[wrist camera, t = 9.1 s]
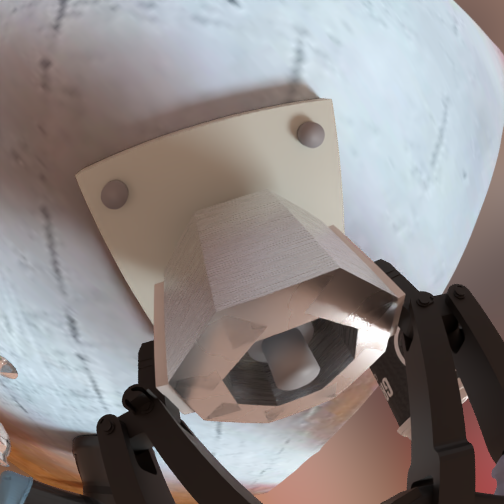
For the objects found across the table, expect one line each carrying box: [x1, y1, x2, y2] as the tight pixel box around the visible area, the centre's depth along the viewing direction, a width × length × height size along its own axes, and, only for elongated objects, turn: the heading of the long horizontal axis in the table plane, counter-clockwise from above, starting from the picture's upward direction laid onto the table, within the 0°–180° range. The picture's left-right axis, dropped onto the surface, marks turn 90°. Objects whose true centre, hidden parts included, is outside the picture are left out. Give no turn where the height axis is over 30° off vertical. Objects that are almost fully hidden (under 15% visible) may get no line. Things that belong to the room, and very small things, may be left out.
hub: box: [164, 189, 398, 423], centre depth 13 cm, size 9×9×7 cm
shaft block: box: [75, 98, 345, 390], centre depth 15 cm, size 16×16×12 cm
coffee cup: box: [370, 327, 468, 439], centre depth 26 cm, size 10×10×15 cm
